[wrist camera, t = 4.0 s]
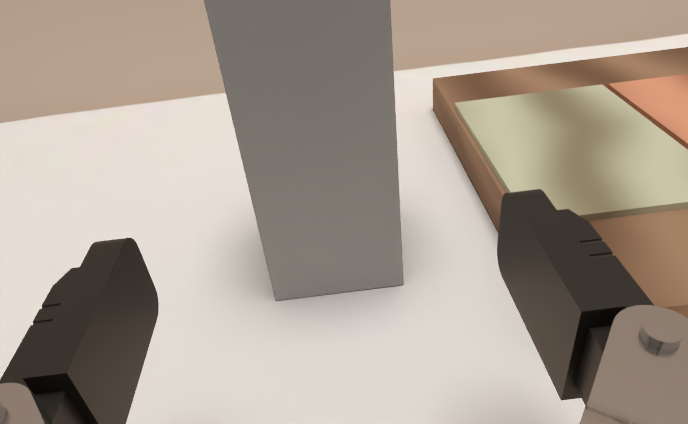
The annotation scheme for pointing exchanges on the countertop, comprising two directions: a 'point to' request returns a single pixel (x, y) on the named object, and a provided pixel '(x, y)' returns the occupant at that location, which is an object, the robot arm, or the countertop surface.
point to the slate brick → (316, 137)
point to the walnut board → (587, 151)
